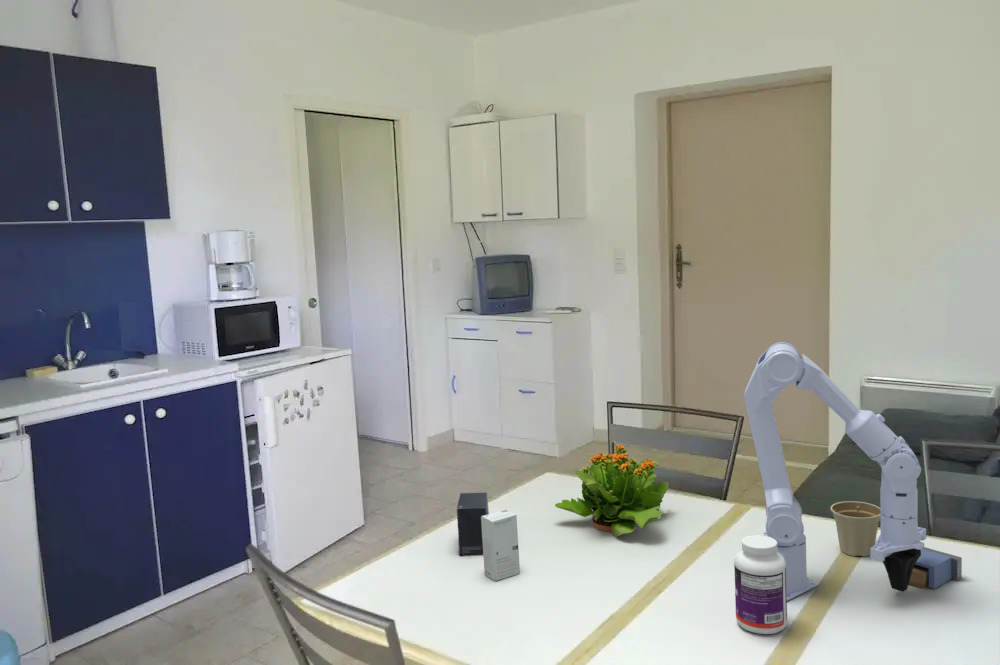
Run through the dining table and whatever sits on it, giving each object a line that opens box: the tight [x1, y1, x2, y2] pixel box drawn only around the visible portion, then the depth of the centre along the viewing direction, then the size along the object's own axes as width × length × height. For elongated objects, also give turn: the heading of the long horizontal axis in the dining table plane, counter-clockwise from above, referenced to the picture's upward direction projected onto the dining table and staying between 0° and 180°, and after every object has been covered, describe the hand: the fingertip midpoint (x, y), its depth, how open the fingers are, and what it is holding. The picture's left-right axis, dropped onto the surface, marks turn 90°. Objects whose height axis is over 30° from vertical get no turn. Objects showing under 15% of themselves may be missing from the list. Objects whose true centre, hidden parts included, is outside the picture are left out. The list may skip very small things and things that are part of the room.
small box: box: [456, 492, 490, 556], centre depth 171 cm, size 11×6×10 cm, turn 179°
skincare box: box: [481, 509, 521, 582], centre depth 155 cm, size 6×4×12 cm
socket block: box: [915, 549, 951, 589], centre depth 142 cm, size 6×6×4 cm
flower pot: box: [829, 500, 880, 558], centre depth 155 cm, size 9×9×9 cm
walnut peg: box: [908, 565, 930, 590], centre depth 141 cm, size 6×3×3 cm, turn 127°
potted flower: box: [554, 444, 669, 538], centre depth 178 cm, size 25×24×18 cm
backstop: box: [922, 546, 963, 582], centre depth 144 cm, size 2×8×4 cm, turn 35°
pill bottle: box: [733, 534, 788, 635], centre depth 129 cm, size 8×8×14 cm
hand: (899, 589), depth 137 cm, fingers closed
